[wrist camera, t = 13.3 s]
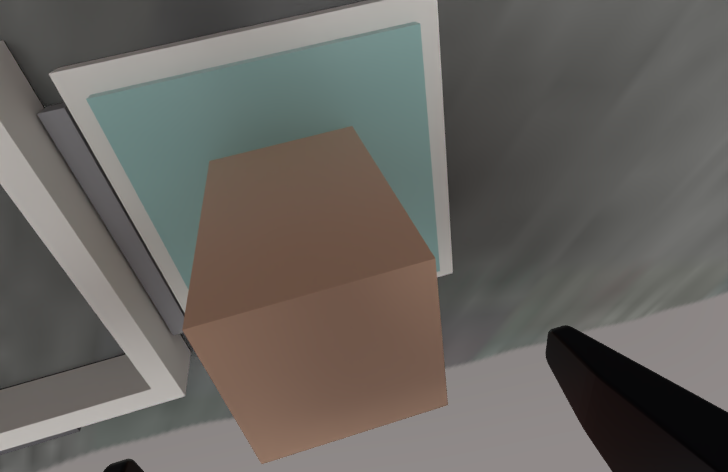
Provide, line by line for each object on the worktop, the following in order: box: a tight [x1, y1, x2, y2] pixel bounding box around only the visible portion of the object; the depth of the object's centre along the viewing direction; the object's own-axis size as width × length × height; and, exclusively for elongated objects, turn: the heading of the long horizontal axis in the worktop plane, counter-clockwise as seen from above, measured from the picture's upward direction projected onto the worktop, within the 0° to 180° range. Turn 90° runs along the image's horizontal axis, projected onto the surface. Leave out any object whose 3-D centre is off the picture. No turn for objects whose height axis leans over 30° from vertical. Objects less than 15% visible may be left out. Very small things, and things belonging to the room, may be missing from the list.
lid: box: [37, 0, 453, 336], centre depth 17 cm, size 13×12×1 cm
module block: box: [182, 126, 448, 464], centre depth 13 cm, size 5×5×8 cm
